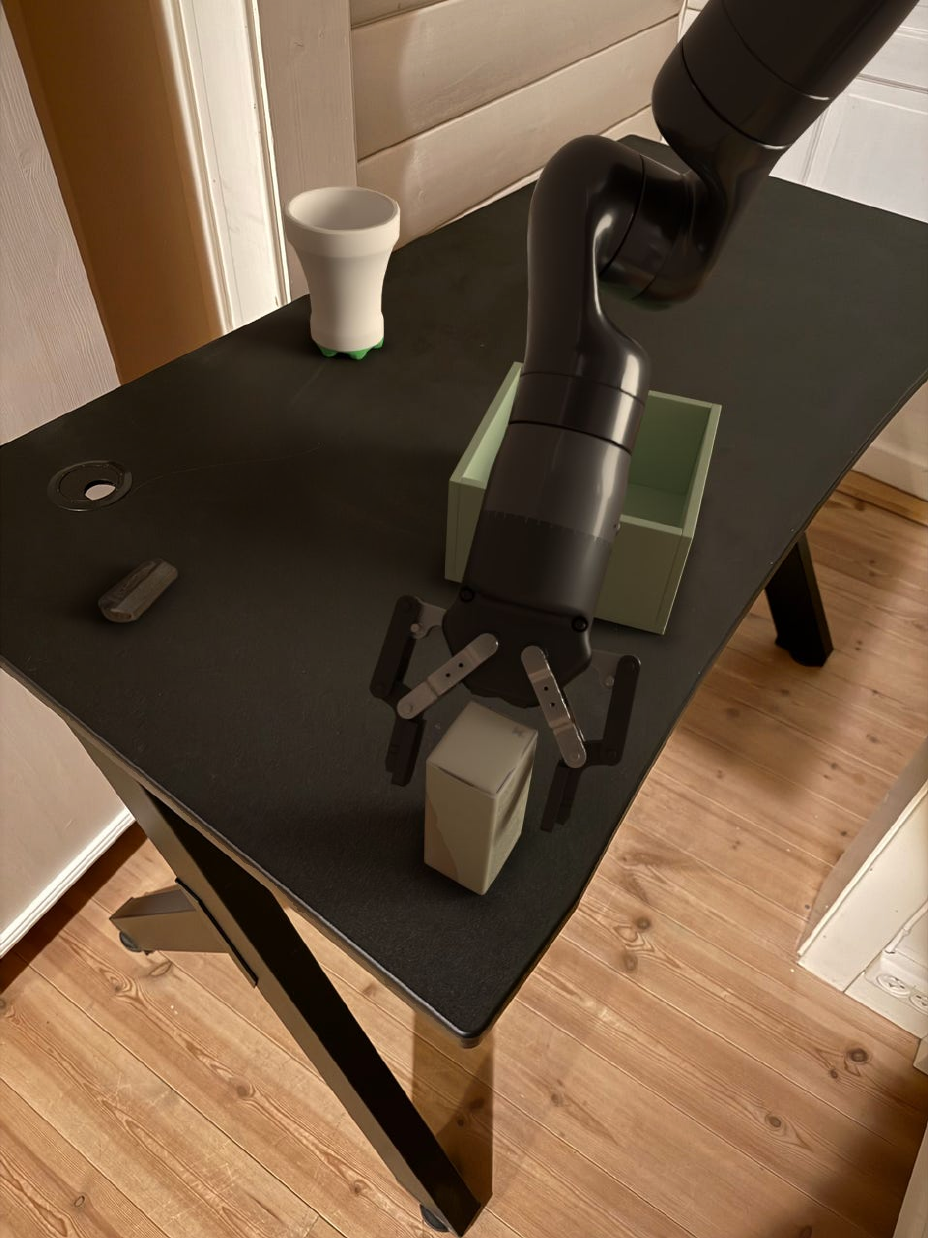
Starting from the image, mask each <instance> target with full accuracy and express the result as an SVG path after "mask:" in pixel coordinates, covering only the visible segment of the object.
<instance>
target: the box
mask: <svg viewBox="0 0 928 1238" xmlns="http://www.w3.org/2000/svg"><path fill="white" fill-rule="evenodd" d="M538 738H539V731H538V730H537V729H536V728H533V727H531V726H529V725H527V724H525V723H523V722H521V721H519V720H517V719H515V718H513V717H511V716H509V715H507V714H504V713H502V712H500V711H498V710H495V709H494V708H492V707H489V706H487V705H485V704H482V703H480V702H479V701H476V700H473V699H472V700H470V701H469V702H468V703H467V705H466V706H465V707H464V709H462V711H461V712H460V714H458V716H457V717H456V719H455V720H454V721H453V723H451V725H450V727H449V728H448V729H447V731H446V732H445V734H444V735H442V737H441V739H440V741H439V742H438V743H437V744H436V746H435V747H434V749H433V750H432V752H431V753H430V755H429V756H428V757H427V759H426V760H425V799H424V800H425V803H424V804H425V805H424V807H425V808H424V809H425V810H424V849H423V850H424V853H423V861H424V863H425V864H426V865H428V866H429V867H431V868H432V869H434V870H436V871H438V872H439V873H441V874H442V875H444V876H445V877H448V878H449V879H450V880H453V881H454V882H456V883H458V884H459V885H461V886H463V887H465V888H467V889H469V890H471V891H472V892H474V893H476V894H478V895H480V896H483V895H485V894H486V893H487V891H488V890H489V888H490V887H491V885H492V884H493V882H494V881H495V879H496V878H497V876H498V874H499V872H500V871H501V869H502V868H503V866H504V864H505V862H506V861H507V859H508V857H509V855H510V854H511V852H512V851H513V849H514V848H515V846H516V843H517V842H518V840H519V838H520V837H521V835H522V829H523V823H524V817H525V812H526V807H527V801H528V795H529V790H530V784H531V778H532V773H533V768H534V767H533V766H534V761H535V756H536V749H537V742H538Z"/></svg>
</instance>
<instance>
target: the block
mask: <svg viewBox="0 0 928 1238" xmlns="http://www.w3.org/2000/svg"><path fill="white" fill-rule="evenodd" d="M178 576H179V571H178V570H177V568H175V567H174V566H173V565H171V564H169V563H168V562H167V561H165V560H163V559H160V558H158V557H152V558H147V559H146V560H145V561H144V562H142V563H141V564H139V565H138V566H137V567H136V568H135V569H133V570H132V571H131V572H130V573H129V574H128V575H126V576H125V577H124V578H123V579H122V580H120V581H119V582H118V583H117V584H116V585H114V586H113V587H111V588H110V589H109V590H108V591H107V592H106V593H104V594H103V595H102V596H101V597H99V599H98V607H99V608H100V610H101V612H102V614H103V616H104V617H105V618H106V619H107V620H109V621H111V622H114V623H129V622H132V621H136V620H138V619H139V618H140V616H142V614H143V613H144V612H145V611H146V610H147V609H148V608H150V606H151V605H152V604H153V603H154V602H155V601H156V599H158V598H159V597H160V596H161V594H162V593H164V591H165V590H166V589H167V588H168V587H169V586H170V585H171V584H172V583H173V582H174V581H175V580H176V579H177V577H178Z"/></svg>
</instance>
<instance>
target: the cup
mask: <svg viewBox="0 0 928 1238" xmlns="http://www.w3.org/2000/svg"><path fill="white" fill-rule="evenodd" d="M282 215H283V224H284V225H283V226H284V232H285V236H286V239H287V241H288V243H289V244H290V246H292V248H293V250H294V252H295V254H296V256H297V259H298V261H299V263H300V266H301V269H302V272H303V274H304V277H305V280H306V283H307V288H308V292H309V299H310V305H311V306H310V307H311V314H310V320H309V324H310V335H311V339H312V340H313V341H314V342H315V344H316V345H317V347H318V348H319V350H320V351H321V353H322V355H323V356H326V357H333V356H336V355H337V354H338V353H344V354H347V355H348V356H349V357H350V358H351V359H355V360H361V359H363V358H364V357H365V356H366V355H367V352H369V351H370V350H371V349H379V348H381V347H382V346H383V342H384V335H385V333H384V331H385V330H384V329H385V327H384V325H385V324H384V322H385V321H384V315H383V312H382V293H383V284H384V278H385V275H386V271H387V266H388V263H389V260H390V257H391V254H392V253H393V252H392V251H393V248H394V246H395V245H396V244H397V242H398V240H399V238H400V230H401V229H400V227H401V225H400V224H401V222H400V221H401V208H400V206H399V204H398V202H397V201H396V200H394V199H393V198H391V197H390V196H389V195H386V194H385V193H382V192H380V191H377V190H375V189H370V188H367V187H361V186H356V185H326V186H325V185H324V186H320V187H315V188H309V189H306V190H302V191H298V192H297V193H295V194H294V195H293V196H291V197H289V199H288V200H287V201H286V202H285V203H284V204H283V207H282Z"/></svg>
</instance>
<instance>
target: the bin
mask: <svg viewBox="0 0 928 1238" xmlns="http://www.w3.org/2000/svg"><path fill="white" fill-rule="evenodd" d="M523 363H524V362H518V361H514V362H513V364H512V365H511V367H510V369H509V371H508V372H507V374H506V376H505V378H504V380H503V382H502V383H501V385H500V387H499V389H498V390H497V392H496V395H494V398H493V400H492V402H491V403H490V405H489V407H488V408H487V411H486V413H485V414H484V416H483V418H482V420H481V422H479V423H480V424H479V425H478V427H477V429H476V431H475V432H474V435H472V438H471V440H470V441H469V444H468V445H467V447H466V449H465V450H464V452H463V455H462V456H461V458H460V460H459V462H458V463H457V466H456V467H455V469H454V470H453V473H452V475H451V477H450V478H449V480H448V493H447V494H448V495H447V496H448V497H447V517H446V541H445V558H444V559H445V561H444V579H445V580H447V581H448V580H449V581H452V582H456V583H460V584H461V582H462V578H463V575H464V571H465V567H466V563H467V559H468V555H469V552H470V548H471V544H472V540H473V536H474V533H475V528H476V525H477V521H478V517H479V513H480V509H481V505H482V501H483V498H484V494H485V490H486V486H487V482H488V479H489V475H490V471H491V468H492V465H493V462H494V459H495V456H496V454H497V452H498V449H499V447H500V445H501V442H502V439H503V437H504V434H505V431H506V428H507V426H508V425H507V424H508V421H509V417H510V413H511V409H512V405H513V401H514V398H515V394H516V390H517V386H518V382H519V379H520V374H521V370H522V367H523ZM722 407H723V405H721V404H718V403H712V402H708V401H704V400H699V399H693V398H690V397H684V396H680V395H676V394H670V393H666V392H661V391H657V390H656V391H655V390H651V389H649V393H648V397H647V401H646V405H645V408H644V412H643V416H642V420H641V423H640V427H639V431H638V435H637V439H636V442H635V446H634V450H633V454H632V456H631V462H630V467H629V474H628V482H627V490H626V497H625V501H624V506H623V510H622V513H621V517H620V528H619V531H618V534H617V536H616V537H615V540H614V543H613V547H612V550H611V554H610V558H609V562H608V566H607V569H606V573H605V577H604V581H603V585H602V588H601V592H600V596H599V600H598V603H597V607H596V611H595V615H594V618H596V619H600V620H602V621H608V622H611V623H616V624H619V625H622V626H627V627H630V628H634V629H638V630H642V631H647V632H649V633H654V634H658V635H662V636H663V635H664V634H665V631H666V628H667V624H668V621H669V618H670V614H671V613H672V612H671V611H672V608H673V604H674V601H675V598H676V595H677V592H678V588H679V585H680V582H681V579H682V578H681V577H682V575H683V572H684V569H685V565H686V563H687V559H688V556H689V553H690V549H691V546H692V542H693V540H694V537H695V536H694V535H695V531H696V526H697V523H698V522H697V521H698V517H699V512H700V507H701V502H702V499H703V494H704V490H705V485H706V480H707V475H708V471H709V466H710V462H711V457H712V453H713V447H714V443H715V439H716V435H717V430H718V427H719V426H718V425H719V420H720V416H721V411H722Z"/></svg>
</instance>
